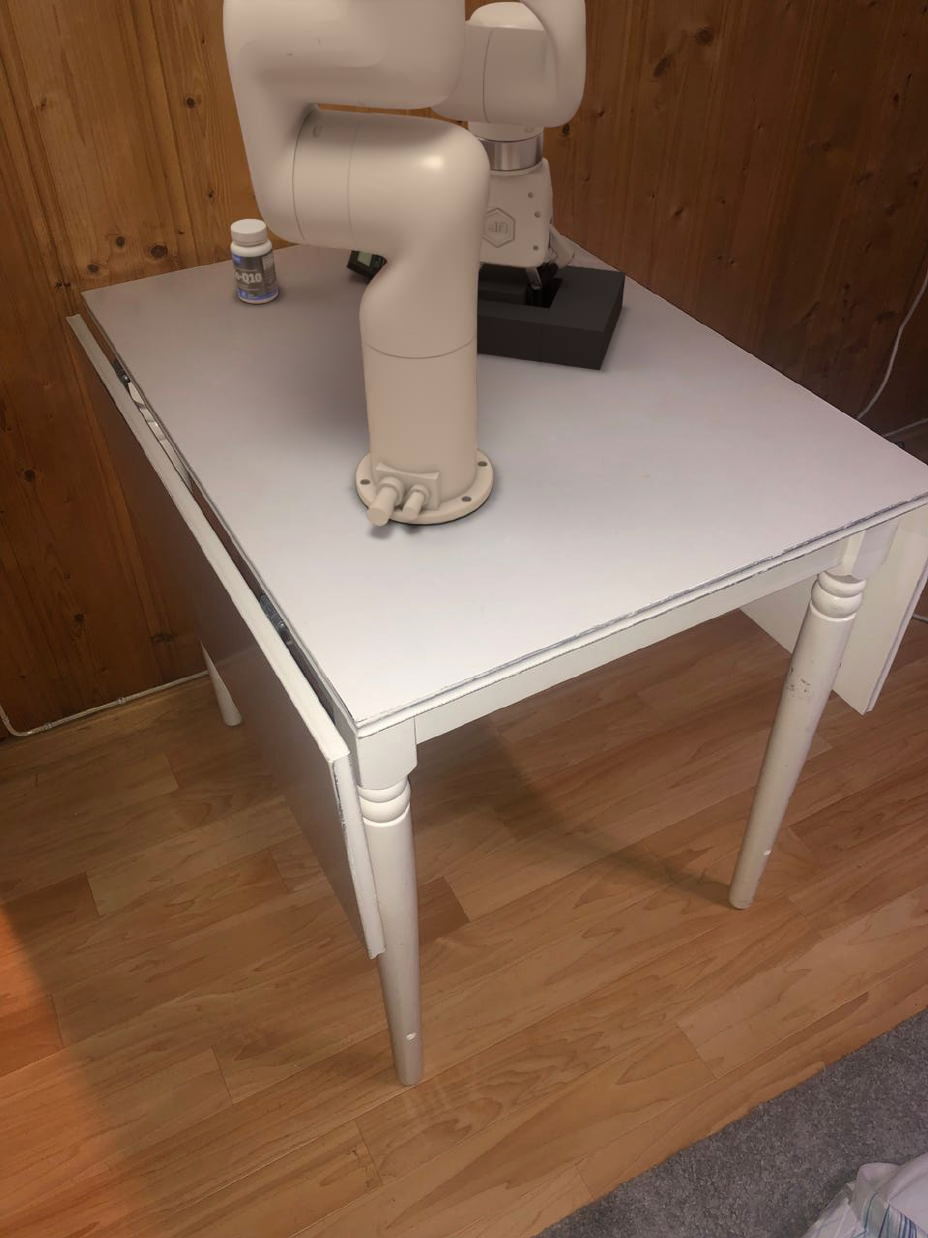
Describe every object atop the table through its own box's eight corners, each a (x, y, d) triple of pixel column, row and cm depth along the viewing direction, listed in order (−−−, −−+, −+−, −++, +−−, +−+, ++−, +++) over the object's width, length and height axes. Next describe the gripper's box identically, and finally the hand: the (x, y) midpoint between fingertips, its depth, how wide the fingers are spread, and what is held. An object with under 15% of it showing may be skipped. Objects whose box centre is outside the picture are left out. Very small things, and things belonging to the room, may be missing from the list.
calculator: (444, 287, 121) (444, 263, 119) (347, 285, 122) (345, 261, 120) (449, 253, 128) (449, 229, 126) (358, 251, 129) (356, 227, 127)
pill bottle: (231, 300, 119) (218, 230, 113) (250, 283, 122) (239, 214, 117) (267, 307, 118) (256, 236, 112) (285, 289, 121) (276, 219, 115)
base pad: (455, 349, 111) (454, 311, 108) (488, 291, 121) (488, 255, 117) (600, 370, 108) (603, 331, 105) (621, 308, 117) (626, 271, 114)
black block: (521, 332, 112) (523, 294, 109) (469, 325, 113) (469, 287, 110) (533, 306, 116) (535, 269, 113) (483, 300, 117) (483, 262, 114)
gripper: (412, 152, 101) (418, 319, 114) (583, 169, 97) (570, 339, 110) (434, 126, 106) (438, 288, 119) (597, 141, 103) (583, 307, 115)
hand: (501, 311), depth 114 cm, fingers closed on black block, 6 cm apart
